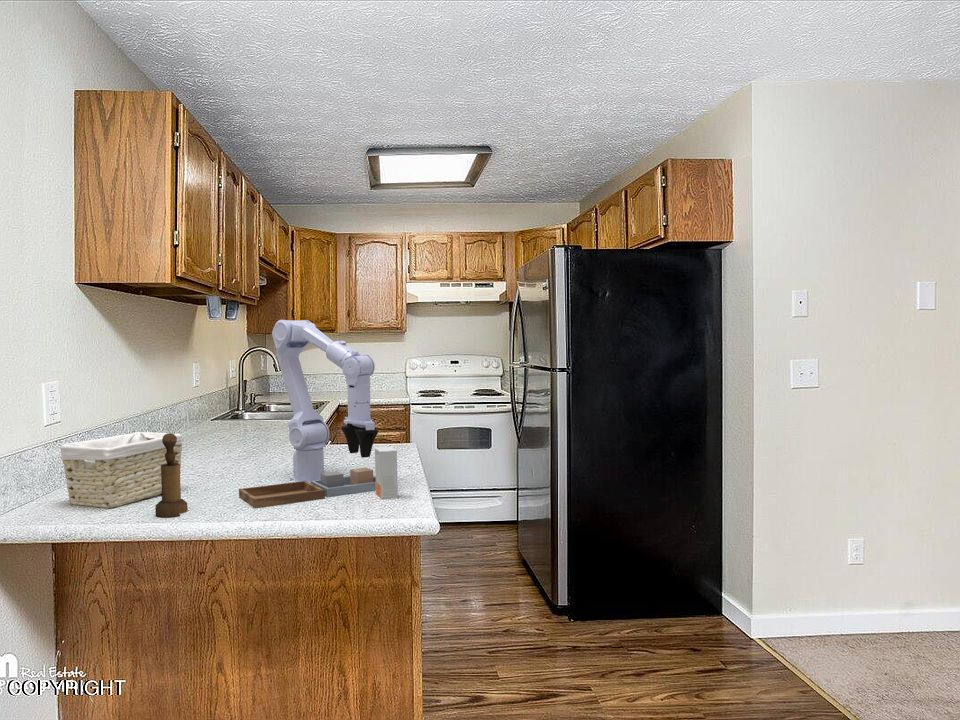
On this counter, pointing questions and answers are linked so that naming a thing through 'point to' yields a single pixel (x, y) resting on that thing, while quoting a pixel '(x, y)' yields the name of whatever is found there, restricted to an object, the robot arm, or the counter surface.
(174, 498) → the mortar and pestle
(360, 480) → the russet cube
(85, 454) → the storage basket
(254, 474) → the counter surface
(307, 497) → the walnut bin
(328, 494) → the slate tray
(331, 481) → the grey cube
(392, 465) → the skincare box
